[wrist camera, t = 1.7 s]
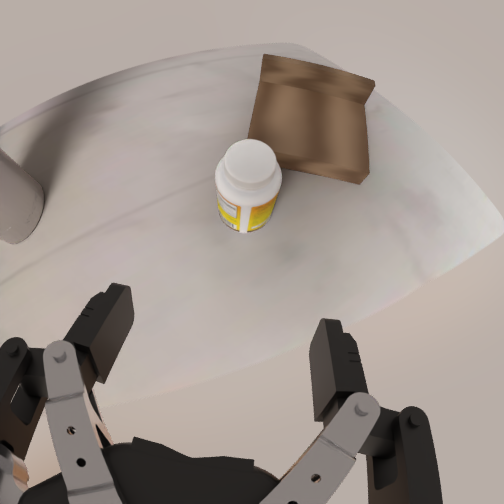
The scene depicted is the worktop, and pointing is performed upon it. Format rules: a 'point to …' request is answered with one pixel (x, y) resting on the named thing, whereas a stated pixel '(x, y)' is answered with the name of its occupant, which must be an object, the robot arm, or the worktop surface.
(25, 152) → the worktop surface
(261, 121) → the walnut shelf step
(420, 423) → the robot arm
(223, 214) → the supplement bottle
